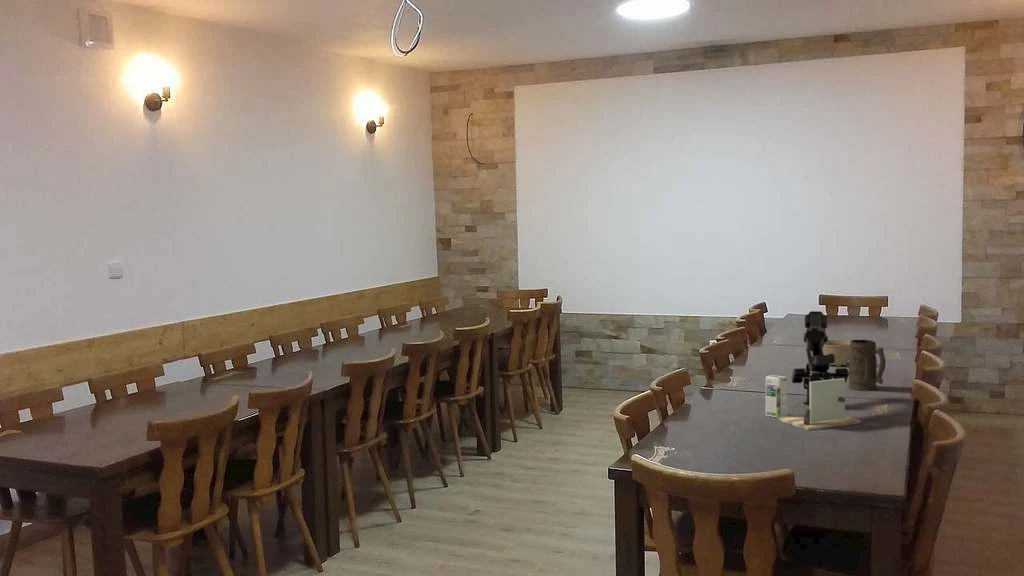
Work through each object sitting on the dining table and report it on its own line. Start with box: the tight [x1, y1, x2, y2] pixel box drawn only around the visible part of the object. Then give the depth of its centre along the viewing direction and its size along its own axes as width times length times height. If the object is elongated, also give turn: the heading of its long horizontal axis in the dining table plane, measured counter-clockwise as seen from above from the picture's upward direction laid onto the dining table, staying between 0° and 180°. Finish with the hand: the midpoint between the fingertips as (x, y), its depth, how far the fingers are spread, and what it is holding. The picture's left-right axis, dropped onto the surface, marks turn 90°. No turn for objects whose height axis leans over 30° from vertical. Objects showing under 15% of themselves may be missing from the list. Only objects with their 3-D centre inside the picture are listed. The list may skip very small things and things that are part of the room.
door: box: [808, 378, 846, 423], centre depth 286 cm, size 3×14×14 cm, turn 109°
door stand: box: [777, 408, 862, 431], centre depth 291 cm, size 16×22×6 cm
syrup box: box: [765, 374, 788, 419], centre depth 301 cm, size 6×6×14 cm
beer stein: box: [848, 339, 886, 392], centre depth 341 cm, size 15×11×20 cm
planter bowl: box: [823, 339, 852, 367], centre depth 397 cm, size 16×16×11 cm
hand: (823, 395), depth 291 cm, fingers closed
